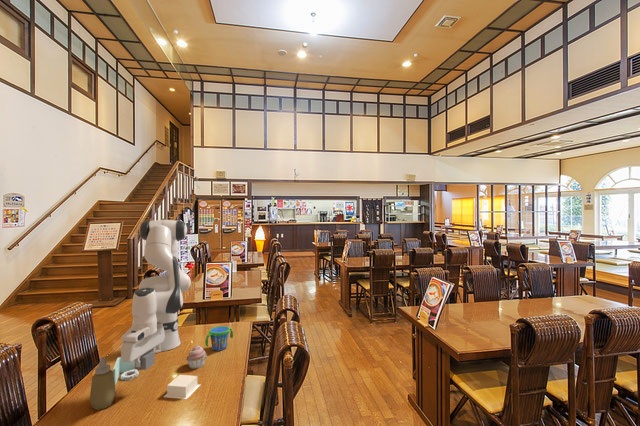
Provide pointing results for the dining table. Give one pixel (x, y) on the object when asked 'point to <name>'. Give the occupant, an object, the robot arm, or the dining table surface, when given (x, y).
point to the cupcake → (196, 357)
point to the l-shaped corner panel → (124, 370)
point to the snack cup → (219, 337)
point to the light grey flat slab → (182, 397)
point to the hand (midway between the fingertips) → (144, 362)
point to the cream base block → (182, 386)
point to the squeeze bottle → (102, 386)
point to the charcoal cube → (146, 360)
